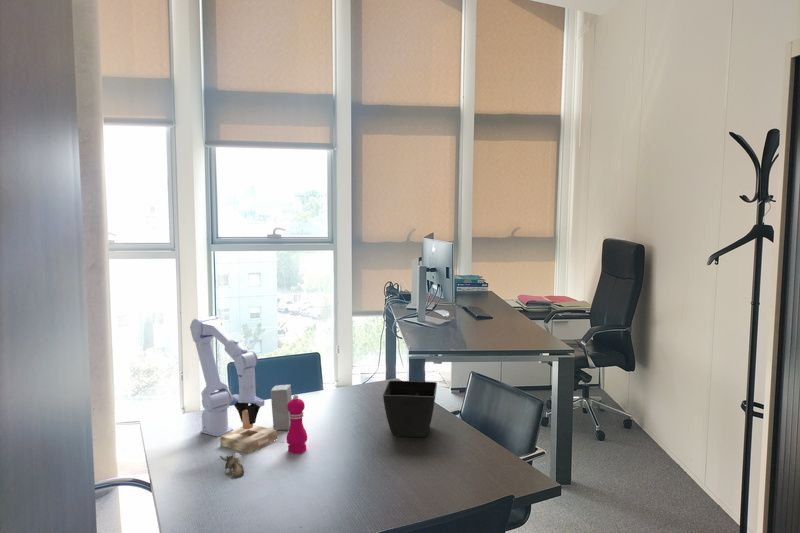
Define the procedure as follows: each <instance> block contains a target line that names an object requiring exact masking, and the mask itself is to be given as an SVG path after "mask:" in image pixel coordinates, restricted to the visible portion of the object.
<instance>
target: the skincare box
mask: <svg viewBox="0 0 800 533" xmlns="http://www.w3.org/2000/svg"><path fill="white" fill-rule="evenodd" d="M292 399H293V396H292V385H291V384H277V385H274V386H273V387H272V388H271V390H270V400H271V401H270V402H271V414H272V426H273V430H277V431H279V430H280V431H289V428H290V422H291V421H290V418H289V413H290V412H289V411H288V409H287V404H288V402H289V401H290V400H292Z"/></svg>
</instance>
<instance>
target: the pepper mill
mask: <svg viewBox="0 0 800 533" xmlns="http://www.w3.org/2000/svg"><path fill="white" fill-rule="evenodd" d="M305 406H306V405H305V402H304V401H303V399H301V398H299V396H298V395H297V394H294V395H293V396H292V400H290V401H289V402H288V404H287V409H288V411H289V412H290V413H289V418H290V421H291V422H290V428H289V430H287V434H286V438H285V439H286V442H287V444H288V446H287V452H288V451H289V452H290V454H292V453H293V455H298V454H303V453H305V452H306V451H307V444H306V443H307V441H308V433H307V431H306V429H305V427H304V423H303V418H304V410H305ZM289 452H288V453H289Z"/></svg>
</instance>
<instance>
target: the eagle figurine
mask: <svg viewBox="0 0 800 533" xmlns="http://www.w3.org/2000/svg"><path fill="white" fill-rule="evenodd" d="M219 457H220V459H221V460H223V461H225V465H224V469H225V470H226V471H225V475H227V474H228V473H230V471H231V470H232V474H231V479H233V480H236V479H237V480H238V479H239V478H242V477H243V476H244V473H245V471H244V466H243V465H242V464H241V463H240V462H242V455H241V453H239V452H235V453H234V454H231V455H226V457H225V458H224V457H223V456H222V455H220V456H219Z"/></svg>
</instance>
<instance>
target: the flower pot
mask: <svg viewBox="0 0 800 533" xmlns="http://www.w3.org/2000/svg"><path fill="white" fill-rule="evenodd" d="M437 386H438V383H437V382H436V381H420V380H418V381H415V380H413V381H411V380H389V381H388V382H387V384H386V387H385V389H384V391H383V394H382V398H383V404H384V410H385V416H386V420H387V424H388V427H389V430H390V433H391V435H392V436H393V437H404V438H407V437H409V438H427V436H428V433H429V430H430V427H431V423H432V418H433V414H434V408H435V402H436V401H435V400H436V394H437Z"/></svg>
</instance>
